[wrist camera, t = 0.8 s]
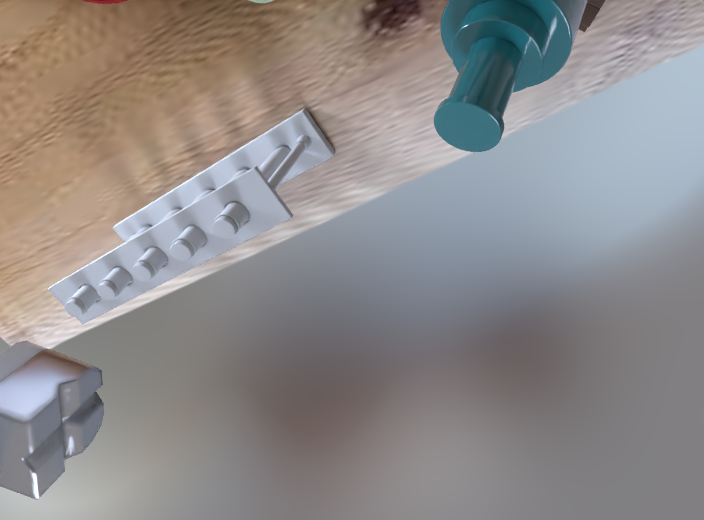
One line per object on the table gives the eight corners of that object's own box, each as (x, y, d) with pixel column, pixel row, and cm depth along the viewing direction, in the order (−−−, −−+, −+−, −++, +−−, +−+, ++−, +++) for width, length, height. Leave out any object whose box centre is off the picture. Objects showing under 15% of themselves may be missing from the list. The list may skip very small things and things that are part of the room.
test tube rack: (305, 107, 49) (241, 181, 39) (336, 152, 51) (282, 235, 40) (116, 223, 61) (29, 304, 51) (146, 257, 63) (67, 341, 52)
